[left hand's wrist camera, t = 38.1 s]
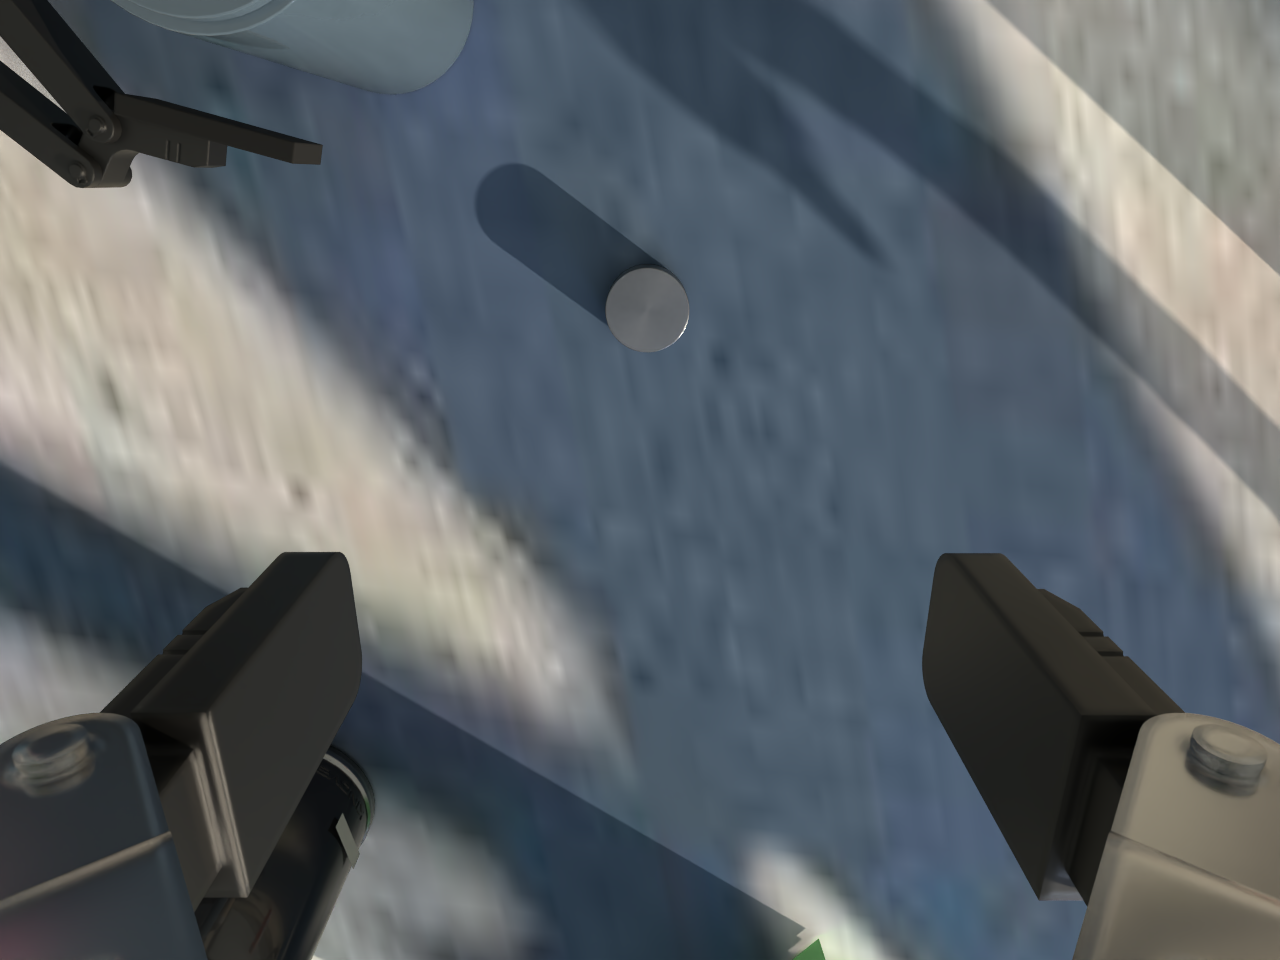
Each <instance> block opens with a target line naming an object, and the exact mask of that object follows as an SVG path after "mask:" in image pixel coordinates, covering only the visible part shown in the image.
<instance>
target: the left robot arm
mask: <svg viewBox="0 0 1280 960" xmlns="http://www.w3.org/2000/svg"><path fill="white" fill-rule="evenodd" d="M922 671H923V680H924V685H925V690H926V693H927V696H928V699H929V701H930V703H931V705H932V707H933V709H934V710H935V712H936V714H937V716H938V718H939V720H940V721H941V723H942V725H943V727H944V729H945V730H946V732H947V734H948V736H949V738H950V740H951V741H952V743H953V745H954V747H955V749H956V750H957V752H958V754H959V756H960V758H961V760H962V761H963V763H964V765H965V767H966V769H967V770H968V772H969V774H970V776H971V778H972V780H973V781H974V783H975V785H976V787H977V789H978V790H979V792H980V794H981V796H982V798H983V800H984V801H985V803H986V805H987V807H988V809H989V810H990V812H991V814H992V816H993V818H994V820H995V821H996V823H997V825H998V827H999V829H1000V830H1001V832H1002V834H1003V836H1004V838H1005V840H1006V841H1007V843H1008V845H1009V847H1010V849H1011V850H1012V852H1013V854H1014V856H1015V858H1016V860H1017V861H1018V863H1019V865H1020V867H1021V869H1022V870H1023V872H1024V874H1025V876H1026V878H1027V880H1028V881H1029V883H1030V885H1031V887H1032V889H1033V890H1034V892H1035V894H1036V896H1037V898H1038V900H1039V901H1084V902H1085V904H1086V905H1087V910H1086V914H1085V917H1084V921H1083V924H1082V928H1081V931H1080V935H1079V938H1078V942H1077V945H1076V949H1075V952H1074V955H1073V959H1072V960H1280V745H1279V744H1278V743H1276V742H1274V741H1273V740H1271V739H1269V738H1267V737H1265V736H1263V735H1261V734H1259V733H1257V732H1255V731H1253V730H1250V729H1248V728H1246V727H1243V726H1240V725H1238V724H1235V723H1232V722H1229V721H1226V720H1222V719H1218V718H1215V717H1210V716H1205V715H1199V714H1191V713H1185V712H1184V711H1183V710H1182V709H1181V708H1180V707H1179V706H1178V705H1177V704H1176V703H1175V702H1174V701H1173V700H1172V699H1171V698H1170V697H1169V696H1168V695H1167V694H1166V693H1165V692H1164V691H1163V690H1162V689H1161V688H1160V687H1159V686H1158V685H1157V684H1156V683H1154V682H1153V681H1152V680H1151V679H1150V678H1149V677H1148V676H1147V675H1146V674H1145V673H1144V672H1143V671H1142V670H1141V669H1140V668H1139V667H1138V666H1137V665H1136V664H1135V663H1134V662H1133V661H1132V660H1131V659H1130V658H1129V657H1128V656H1123V651H1122V650H1121V649H1120V648H1119V647H1118V646H1117V645H1116V644H1115V643H1114V642H1113V641H1112V640H1111V639H1110V638H1109V637H1104V636H1103V631H1102V630H1101V629H1100V628H1099V627H1098V626H1097V625H1096V624H1095V623H1094V622H1093V621H1092V620H1091V619H1090V618H1089V617H1088V616H1087V615H1086V614H1085V613H1084V612H1083V611H1082V610H1080V609H1079V608H1077V607H1076V606H1074V605H1072V604H1070V603H1068V602H1067V601H1065V600H1063V599H1061V598H1059V597H1057V596H1056V595H1054V594H1052V593H1050V592H1048V591H1047V590H1045V589H1036V588H1035V587H1034V586H1033V584H1032V583H1031V582H1030V581H1029V580H1028V579H1027V578H1026V577H1025V576H1024V575H1023V574H1022V573H1021V572H1020V571H1019V570H1018V569H1017V568H1016V567H1015V566H1014V565H1013V564H1012V563H1011V562H1010V560H1009V559H1008V558H1007V557H1006V556H1004V555H1003V554H1001V553H944V554H942V555H941V556H940V558H939V559H938V561H937V564H936V567H935V572H934V578H933V585H932V592H931V599H930V606H929V613H928V620H927V627H926V634H925V641H924V648H923V656H922ZM361 672H362V652H361V645H360V638H359V630H358V623H357V616H356V609H355V602H354V595H353V588H352V581H351V573H350V568H349V564H348V561H347V559H346V557H345V555H344V554H343V553H341V552H284V553H282V554H280V555H279V556H278V557H277V558H276V559H275V560H274V561H273V562H272V563H271V565H270V566H269V567H268V568H267V569H266V570H265V571H264V572H263V573H262V574H261V575H260V576H259V577H258V578H257V579H256V580H255V581H254V582H253V583H252V585H251V586H250V587H249V588H240V589H238V590H236V591H234V592H232V593H231V594H229V595H227V596H225V597H223V598H222V599H220V600H218V601H216V602H214V603H213V604H211V605H209V606H207V607H205V608H204V609H203V610H202V611H201V612H200V613H199V614H198V615H197V616H196V617H195V618H194V619H193V620H192V621H191V622H190V623H189V624H188V625H187V626H186V627H185V628H184V629H183V633H182V635H177V636H176V637H175V638H174V639H173V640H172V641H171V642H170V643H169V644H168V645H167V646H166V647H165V648H164V649H163V655H157V656H156V657H155V658H154V659H153V660H152V661H151V662H150V663H149V664H148V665H147V666H146V667H145V668H144V669H143V670H142V671H141V672H140V673H139V674H138V675H137V676H136V677H135V678H134V679H133V680H132V681H131V682H130V683H129V684H128V685H127V686H126V687H125V688H124V689H123V690H122V691H121V692H120V693H119V694H118V695H117V696H116V697H115V698H114V699H113V700H112V701H111V702H110V703H109V704H108V705H107V706H106V707H105V708H104V709H103V710H102V711H101V712H100V713H89V714H81V715H75V716H70V717H65V718H62V719H58V720H54V721H51V722H48V723H45V724H42V725H40V726H37V727H34V728H32V729H30V730H27V731H25V732H23V733H21V734H19V735H17V736H15V737H13V738H11V739H9V740H7V741H6V742H4V743H2V744H1V745H0V960H311V959H312V957H313V955H314V952H315V950H316V948H317V945H318V943H319V941H320V938H321V936H322V934H323V931H324V929H325V927H326V924H327V922H328V919H329V917H330V915H331V912H332V910H333V908H334V905H335V903H336V901H337V898H338V896H339V894H340V891H341V889H342V887H343V884H344V882H345V880H346V877H347V875H348V873H349V871H350V868H351V866H352V867H353V869H354V866H355V864H356V862H357V859H358V857H359V854H360V853H359V851H358V849H359V847H360V846H361V844H362V843H363V841H364V839H365V837H366V835H367V833H368V830H369V828H370V826H371V823H372V821H373V817H374V811H375V801H374V795H373V791H372V788H371V786H370V783H369V782H368V780H367V778H366V776H365V775H364V773H363V772H362V771H361V769H360V768H359V767H358V766H357V765H356V764H355V763H354V762H353V761H352V760H351V759H350V758H348V757H347V756H346V755H344V754H343V753H342V752H340V751H338V750H337V749H335V748H333V747H331V746H330V745H331V743H332V741H333V739H334V737H335V735H336V734H337V732H338V730H339V728H340V726H341V724H342V723H343V721H344V719H345V717H346V715H347V713H348V712H349V710H350V708H351V706H352V704H353V702H354V700H355V698H356V696H357V693H358V689H359V685H360V680H361Z"/></svg>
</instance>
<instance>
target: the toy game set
mask: <svg viewBox="0 0 1280 960" xmlns="http://www.w3.org/2000/svg"><path fill="white" fill-rule="evenodd" d="M793 960H825V957H824V954H823V951H822V948H821V944H820V941H819V939H818V940H816V941H815V942H814V943H813V944H811V945H810V946H809V947H808V948H806V949H805V950H804V951H803V952H802V953H800V954H799V955H798V956H797V957H795V958H794V959H793Z"/></svg>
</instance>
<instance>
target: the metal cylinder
mask: <svg viewBox="0 0 1280 960" xmlns="http://www.w3.org/2000/svg"><path fill="white" fill-rule="evenodd" d="M605 309H606V319H607V323H608V326H609V328H610V330H611V332H612V334H613V335H614V336H615V338H616V339H617V340H618V341H619V342H620V343H622V344H623V345H625V346H626V347H628V348H630V349H632V350H635V351H639V352H655V351H659V350H662V349H665V348H667V347H668V346H670V345H671V344H673V343H674V342H675V341H676V340H677V339H678V338H679V337H680V336H681V334H682V333H683V331H684V329H685V327H686V325H687V322H688V317H689V302H688V298H687V295H686V292H685V289H684V287H683V285H682V283H681V282H680V280H679V279H678V278H677V277H676V276H675V275H674V274H673V273H672V272H670V271H669V270H667V269H666V268H663V267H661V266H658V265H652V264H642V265H637V266H634V267H631V268H629V269H627V270H626V271H624V272H623V273H622V274H620V275H619V277H618V278H617V279H616V280H615V281H614V283H613V285H612V286H611V288H610V291H609V294H608V297H607V301H606V308H605Z"/></svg>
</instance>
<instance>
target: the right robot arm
mask: <svg viewBox="0 0 1280 960" xmlns="http://www.w3.org/2000/svg"><path fill="white" fill-rule="evenodd" d="M0 36H1V37H2V38H3V39H4V41H5V42H6V43H7V44H8V45H9V46H10V48H11V49H12V50H13V51H14V52H15V53H16V55H17V56H18V57H19V58H20V59H21V60H22V62H23V63H24V64H25V65H26V66H27V67H28V69H29V70H30V71H31V72H32V73H33V74H34V76H35V77H36V78H37V79H38V80H39V81H40V83H41V84H42V85H43V86H44V87H45V88H46V90H47V91H48V92H49V93H50V94H51V95H52V97H53V98H54V99H55V100H56V101H57V102H58V104H59V105H60V106H61V107H62V108H63V109H64V111H65V112H66V113H65V112H64V111H63V110H62V109H60V108H59V107H58V106H57V105H55V104H54V103H53V102H52V101H50V100H49V99H48V98H47V97H45V96H44V95H43V94H42V93H40V92H39V91H38V90H36V89H35V88H34V87H33V86H31V85H30V84H29V83H28V82H26V81H25V80H24V79H23V78H21V77H20V76H19V75H18V74H16V73H15V72H14V71H13V70H11V69H10V68H9V67H8V66H6V65H5V64H4V63H3V62H1V61H0V130H1V131H3V132H4V133H5V134H6V135H8V136H9V137H10V138H12V139H13V140H14V141H16V142H17V143H18V144H19V145H21V146H22V147H23V148H25V149H26V150H27V151H28V152H30V153H31V154H32V155H34V156H35V157H36V158H37V159H39V160H40V161H41V162H43V163H44V164H45V165H47V166H48V167H49V168H50V169H52V170H53V171H54V172H56V173H57V174H58V175H59V176H61V177H62V178H63V179H65V180H66V181H67V182H68V183H70V184H71V185H73V186H75V187H79V188H107V187H124V186H127V185H128V184H129V183H130V181H131V178H132V170H131V168H130V165H131V162H132V160H133V159H134V157H135V156H136V155H137V154H138V153H143V154H147V155H151V156H154V157H158V158H162V159H165V160H169V161H173V162H176V163H180V164H184V165H187V166H191V167H205V168H213V167H221V166H226V154H227V146H231V147H235V148H238V149H242V150H246V151H249V152H253V153H256V154H260V155H264V156H267V157H271V158H275V159H278V160H282V161H285V162H289V163H293V164H319V165H320V163H321V155H322V146H323V145H321V144H317V143H313V142H310V141H306V140H303V139H299V138H295V137H292V136H288V135H285V134H281V133H277V132H274V131H270V130H267V129H263V128H259V127H256V126H252V125H249V124H245V123H241V122H238V121H234V120H231V119H227V118H223V117H220V116H216V115H213V114H209V113H205V112H202V111H198V110H195V109H191V108H188V107H184V106H180V105H177V104H173V103H170V102H166V101H162V100H159V99H154V98H147V97H141V96H135V95H129V94H125V93H124V92H123V91H122V90H121V89H120V87H119V86H118V85H117V84H116V83H115V81H114V80H113V79H112V78H111V77H110V75H109V74H108V73H107V72H106V70H105V69H104V68H103V67H102V66H101V64H100V63H99V62H98V61H97V60H96V58H95V57H94V56H93V55H92V54H91V52H90V51H89V50H88V49H87V48H86V46H85V45H84V44H83V43H82V42H81V40H80V39H79V38H78V37H77V36H76V34H75V33H74V32H73V31H72V30H71V28H70V27H69V26H68V25H67V23H66V22H65V21H64V20H63V19H62V17H61V16H60V15H59V14H58V13H57V11H56V10H55V9H54V8H53V7H52V5H51V4H50V3H49V2H48V1H47V0H0Z"/></svg>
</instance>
